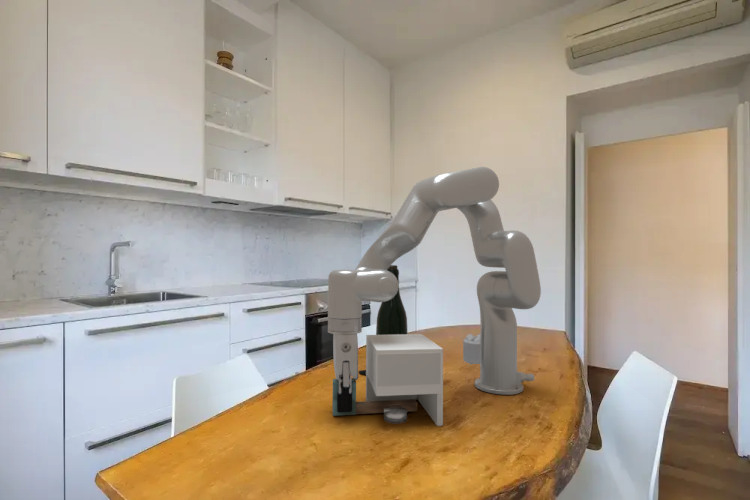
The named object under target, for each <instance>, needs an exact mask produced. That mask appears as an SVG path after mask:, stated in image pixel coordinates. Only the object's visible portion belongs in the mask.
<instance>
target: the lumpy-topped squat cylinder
mask: <svg viewBox="0 0 750 500" xmlns="http://www.w3.org/2000/svg"><path fill="white" fill-rule="evenodd" d="M462 341H463V342H462V343H463V345H462V346H463V347H462V351H463V352H462V355H463V356H462V359H463V360H464V361H465V362H467V363H469V364H468V365H472V364H480V333H479V334H477V335H476V336H475V335H473V334H472V333H469V334H467V335H466V337H465V338H463V340H462ZM463 360H462V361H463ZM464 361H463V362H464ZM465 362H464V363H465ZM467 363H466V364H467Z"/></svg>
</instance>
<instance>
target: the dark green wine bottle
mask: <svg viewBox="0 0 750 500" xmlns="http://www.w3.org/2000/svg"><path fill="white" fill-rule="evenodd" d="M387 271H389V272H391V273H392V274H394V275H395V277H396V278H397V280H398V285H399V286H398V291H397V293H396V295H395V296H394V297H393V298H392V299H390V300H389V301H386V302H380V303H381V304H380V306H379V308H378V311H377V317H376V323H375V324H376V326H375V327H376V328H375V330H376V331H375V335H397V334H409V333H408V317H407V316H408V315H407V312H406V309H405V306H404V303H403V300H402V298H401V297H402V296H401V293H400V280H399V277H400V271H399V269H398V265H394V264H391V266H390V267H389V268H388V269H387Z"/></svg>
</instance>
